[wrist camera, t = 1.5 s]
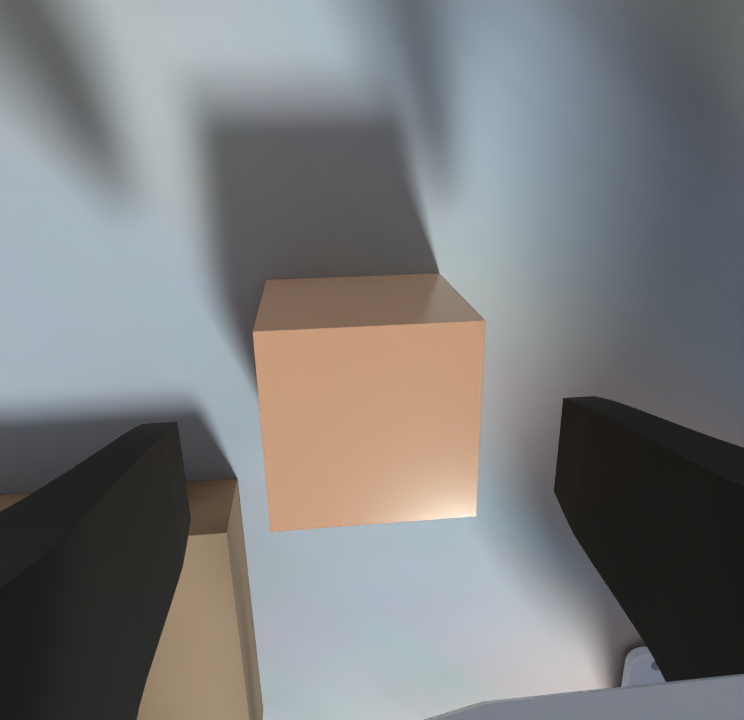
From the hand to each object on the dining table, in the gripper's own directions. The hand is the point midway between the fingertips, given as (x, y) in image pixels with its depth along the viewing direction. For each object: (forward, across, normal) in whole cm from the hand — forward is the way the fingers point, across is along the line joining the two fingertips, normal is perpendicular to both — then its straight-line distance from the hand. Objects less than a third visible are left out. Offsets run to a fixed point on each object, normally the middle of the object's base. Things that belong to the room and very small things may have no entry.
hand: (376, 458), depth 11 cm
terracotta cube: (+6, 0, 0) cm, 6 cm away
